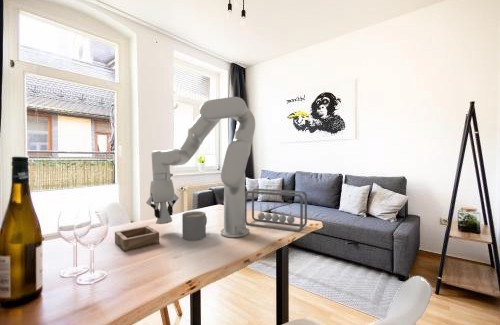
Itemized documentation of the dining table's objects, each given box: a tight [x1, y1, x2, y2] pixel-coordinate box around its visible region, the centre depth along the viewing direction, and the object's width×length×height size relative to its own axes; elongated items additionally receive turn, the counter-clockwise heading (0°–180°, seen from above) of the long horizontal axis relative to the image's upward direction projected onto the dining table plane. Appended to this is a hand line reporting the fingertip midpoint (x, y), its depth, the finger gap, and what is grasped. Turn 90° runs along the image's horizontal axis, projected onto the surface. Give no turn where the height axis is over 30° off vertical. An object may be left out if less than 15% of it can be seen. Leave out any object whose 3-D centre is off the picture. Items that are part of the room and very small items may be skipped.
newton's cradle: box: [245, 188, 308, 233], centre depth 122 cm, size 30×10×18 cm, turn 65°
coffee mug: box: [181, 210, 208, 241], centre depth 108 cm, size 13×10×10 cm
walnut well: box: [114, 225, 160, 253], centre depth 98 cm, size 13×13×4 cm
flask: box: [155, 201, 173, 225], centre depth 112 cm, size 7×7×10 cm
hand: (163, 215), depth 112 cm, fingers closed on flask, 5 cm apart
